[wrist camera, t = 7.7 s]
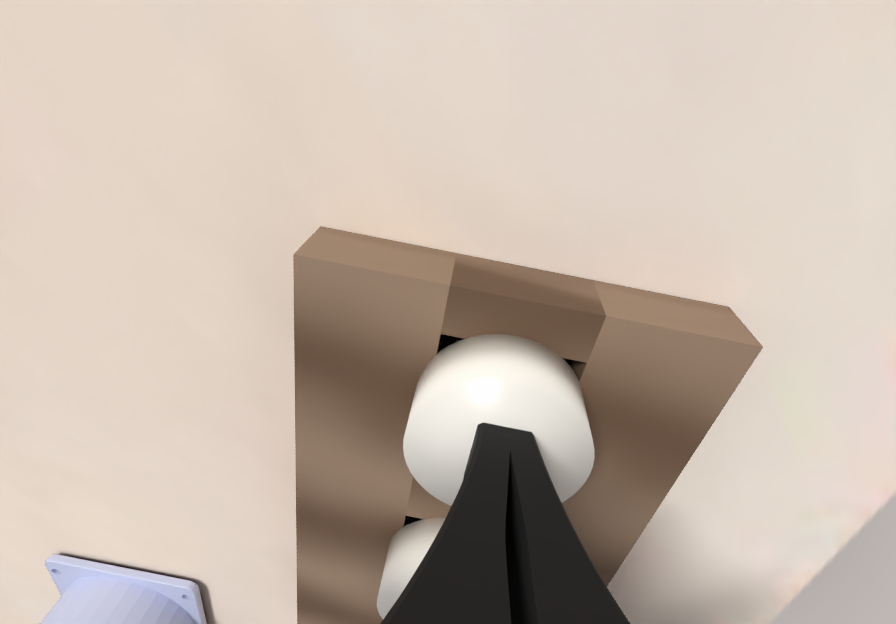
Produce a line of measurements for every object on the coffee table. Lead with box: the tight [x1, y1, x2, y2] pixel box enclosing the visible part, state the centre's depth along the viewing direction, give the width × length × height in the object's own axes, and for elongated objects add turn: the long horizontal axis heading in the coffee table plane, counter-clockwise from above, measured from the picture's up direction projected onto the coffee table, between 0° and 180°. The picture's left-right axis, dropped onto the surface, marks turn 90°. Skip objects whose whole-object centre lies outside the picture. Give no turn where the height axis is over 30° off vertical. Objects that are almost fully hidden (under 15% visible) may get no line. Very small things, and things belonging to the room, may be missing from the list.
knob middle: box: [377, 518, 445, 619], centre depth 17 cm, size 5×5×4 cm
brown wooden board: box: [294, 227, 763, 624], centre depth 18 cm, size 23×12×2 cm, turn 170°
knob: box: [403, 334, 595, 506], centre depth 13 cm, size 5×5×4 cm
